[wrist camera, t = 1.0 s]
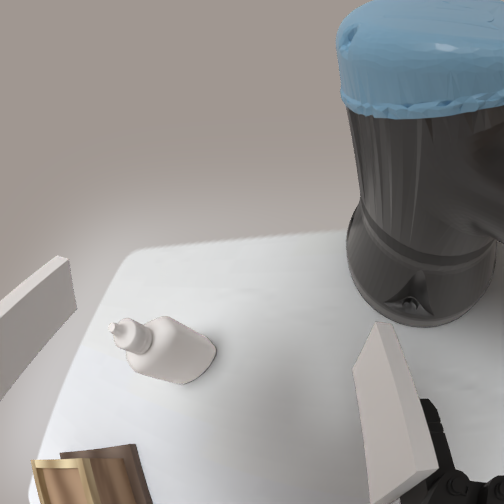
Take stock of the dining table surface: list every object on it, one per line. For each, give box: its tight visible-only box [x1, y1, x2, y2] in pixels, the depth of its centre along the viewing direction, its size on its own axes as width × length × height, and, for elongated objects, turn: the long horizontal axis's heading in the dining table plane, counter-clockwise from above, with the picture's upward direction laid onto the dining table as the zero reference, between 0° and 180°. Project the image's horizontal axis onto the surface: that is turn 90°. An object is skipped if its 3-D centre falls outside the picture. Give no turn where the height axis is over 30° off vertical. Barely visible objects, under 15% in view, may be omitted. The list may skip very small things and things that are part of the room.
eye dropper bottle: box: [108, 316, 216, 384], centre depth 24 cm, size 4×6×12 cm
